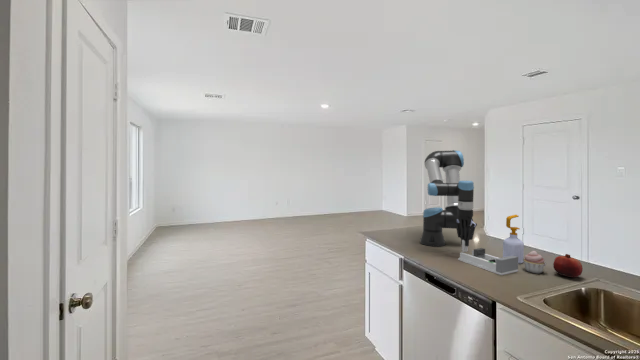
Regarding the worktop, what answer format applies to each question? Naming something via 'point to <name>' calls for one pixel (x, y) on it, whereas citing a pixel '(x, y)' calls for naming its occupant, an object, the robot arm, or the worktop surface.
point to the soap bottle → (513, 243)
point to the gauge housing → (492, 263)
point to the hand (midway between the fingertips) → (464, 251)
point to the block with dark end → (483, 255)
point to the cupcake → (534, 262)
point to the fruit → (567, 266)
